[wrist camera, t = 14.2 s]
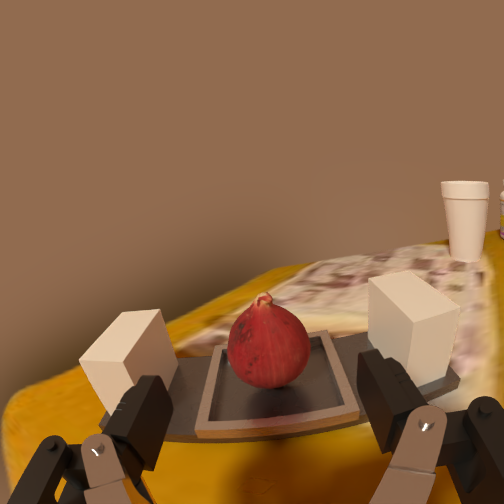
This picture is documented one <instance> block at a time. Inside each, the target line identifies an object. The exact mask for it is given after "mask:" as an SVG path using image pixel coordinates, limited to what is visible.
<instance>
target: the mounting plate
mask: <svg viewBox="0 0 504 504" xmlns="http://www.w3.org/2000/svg"><path fill="white" fill-rule="evenodd" d="M307 334H308V337H309V340H310V344H311V350H310V357H309V360H308V363H307V365H306V367H305V369H304V370H303V372H302V373H301V374H300V375H299V376H298V377H297V378H296V379H295V380H294V381H292V382H290V383H288V384H286V385H284V386H282V387H278V388H273V389H261V388H256V387H253V386H251V385H249V384H247V383H244V382H243V381H242V380H241V379H240V378H238V377H237V375H236V374H235V372H234V370H233V369H232V367H231V365H230V362H229V360H228V356H227V346H228V344H225V345H215V348H214V351H213V355H212V356H205V357H190V358H177V361H178V367H177V369H176V371H175V374H174V376H173V379H172V381H171V384H170V386H169V389H168V394H169V396H170V398H171V400H172V403H173V414H172V417H171V420H170V423H169V426H168V429H167V432H166V435H165V438H164V441H168V442H184V443H239V442H255V441H267V440H276V439H285V438H292V437H299V436H306V435H312V434H317V433H323V432H328V431H332V430H337V429H342V428H346V427H350V426H354V425H358V424H362V423H366V422H369V419H368V417H367V414H366V412H365V409H364V407H363V404H362V402H361V399H360V397H359V394H358V391H357V384H356V379H357V362H358V353H359V352H363V351H367V350H371V349H375V348H374V347H373V345H372V343H371V342H370V340H369V339H368V332H364V333H360V334H355V335H351V336H346V337H341V338H336V339H331V338H330V336H329V334H328V331H327V330H323V331H318V332H312V333H307ZM459 382H460V378H459V376H458V375H457V374H456V373H455V372H454V371H453V369H452V368H451V367H450V366H449V365H448V368H447V371H446V375H445V376H444V377H442V378H439V379H437V380H434V381H432V382H429V383H427V384H424V385H422V386H419V387H417V388H418V390H419V391H420V393H421V394H422V396H423V397H424V399H425V400H426V402H428V401H430V400H432V399H435V398H437V397H439V396H442V395H444V394H446V393H448V392H451V391H453V390H455V389H457V388H458V385H459ZM110 417H111V416H110V414H109V413H108V411H106V413H105V415H104V416H103V418H102V420H101V422H100V423H99V427H100V428H101V429H102V431H103V430H104V428H105V426H106V425H107V423H108V421H109V419H110Z"/></svg>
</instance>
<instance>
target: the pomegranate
mask: <svg viewBox="0 0 504 504" xmlns="http://www.w3.org/2000/svg"><path fill="white" fill-rule="evenodd" d="M310 350H311V344H310V340H309V337H308V334H307V332H306V330H305V328H304V326H303V324H302V323H301V321H300V320H299V319H298V318H297V317H296V316H295V315H293V314H292V313H291V312H289V311H288V310H286V309H284V308H282V307H280V306H277V305H274V304H273V303H272V296H271V295H270V294H269V293H268V292H266V293H260V294H259V295H258V296H257V297H256V299H255V300H254V302H253V303H252V305H251V306H250V307H249V308H248V309H247V310H245V311H244V312H243V313H242V314H241V315H240V316H239V317H238V318H237V320H236V321H235V323H234V324H233V326H232V328H231V331H230V335H229V341H228V346H227V356H228V360H229V362H230V365H231V367H232V369H233V370H234V372H235V374H236V375H237V377H238V378H240V379H241V380H242V381H243V382H244V383H247V384H249V385H251V386H253V387H256V388H261V389H273V388H278V387H282V386H284V385H286V384H288V383H290V382H292V381H294V380H295V379H296V378H297V377H298V376H299V375H300V374H301V373H302V372H303V370H304V369H305V367H306V365H307V363H308V360H309V357H310Z"/></svg>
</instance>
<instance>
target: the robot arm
mask: <svg viewBox="0 0 504 504" xmlns="http://www.w3.org/2000/svg"><path fill="white" fill-rule="evenodd" d="M356 384H357V391H358V394H359V397H360V399H361V402H362V404H363V407H364V409H365V412H366V414H367V417H368V419H369V422H370V424H371V427H372V429H373V432H374V434H375V437H376V439H377V442H378V444H379V447H380V450H381V452H382V454H384V453H387V452H390V451H391V452H392V455H393V457H392V460H391V462H390V464H389V466H388V468H387V470H386V472H385V474H384V476H383V478H382V480H381V482H380V484H379V486H378V488H377V490H376V491H375V493H374V495H373V497H372V499H371V500H370V502H369V504H426V502H427V500H428V497H429V495H430V492H431V489H432V486H433V484H434V481H435V477H436V473H434V470H435V467H438V466H444V465H446V466H447V468H448V470H449V473H450V475H451V478H452V480H453V483H454V485H455V488H456V490H457V493H458V496H459V498H460V501H461V504H504V409H503V408H502V406H501V405H500V404H499V402H498V401H497V400H495V399H494V398H492V397H488V396H482V397H478V398H476V399H474V400H473V401H472V402H471V403H470V405H469V407H468V409H467V410H462V411H456V412H450V413H445V412H444V411H443V410H442V409H440V408H438V407H436V406H432V405H428V403H427V402H426V400H425V399H424V397H423V396H422V394H421V393H420V391H419V390H418V388H417V387H416V385H415V384H414V382H413V381H412V380H411V378H410V376H409V375H408V373H406V370H405V369H404V367H403V366H402V365H401V363H400V362H398V361H396V360H395V359H393V358H392V357H389V358H386V359H384V358H383V356H382V354H381V353H380V351H379V350H378V349H377V348H375V349H371V350H367V351H363V352H359V353H358V362H357V379H356ZM119 402H120V403H118V405H117V407H116V410H114V412H113V414H112V416H111V417H110V419H109V421H108V423H107V425H106V426H105V428H104V430H103V432H102V433H101V434H94V435H91V436H90V437H88V438H87V439H86V440H85V441H84V442H83V443H82V444H73V445H68V444H67V443H66V442H65V441H64V440H63V438H62V437H60V436H57V435H53V436H49V437H47V438H45V439H44V440H43V441H42V442H41V444H40V445H39V447H38V448H37V450H36V452H35V453H34V455H33V457H32V459H31V460H30V462H29V464H28V466H27V467H26V469H25V471H24V473H23V474H22V476H21V478H20V480H19V482H18V484H17V485H16V487H15V489H14V491H13V493H12V495H11V497H10V499H9V501H8V503H7V504H157V503H156V501H155V499H154V498H153V496H152V494H151V492H150V490H149V488H148V486H147V484H146V482H145V480H144V478H143V477H142V476H141V474H142V471H143V470H147V471H154V468H155V465H156V462H157V459H158V456H159V453H160V450H161V447H162V444H163V441H164V438H165V435H166V432H167V429H168V426H169V423H170V420H171V417H172V414H173V403H172V400H171V398H170V396H169V394H168V391H167V389H166V387H165V385H164V382H163V380H162V378H161V377H160V376H159V375H142V376H141V377H140V378H139V380H138V382H137V384H136V386H132V387H131V388H130V389H129V390H127V391H126V392H125V393H124V394H123V396H122V398H121V400H120V401H119ZM62 477H63V478H64V479H65V480H66V481H67V482H66V485H65V487H64V489H63V491H62V494H61V496H60V498H59V501H58V502H57V501H56V500H55V496H54V494H55V491H56V489H57V486H58V484H59V482H60V480H61V478H62Z"/></svg>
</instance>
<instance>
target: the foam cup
mask: <svg viewBox="0 0 504 504" xmlns="http://www.w3.org/2000/svg"><path fill="white" fill-rule="evenodd" d="M441 190H442V197H443V200H444V206H445V212H446V219H447V226H448V235H449V245H450V253H451V257H452V258H453V259H454V260H457V261H461V262H475V261H478V260H480V259H481V254H482V249H483V243H484V236H485V228H486V219H487V210H488V198H489V183H487V182H478V181H446V182H441Z"/></svg>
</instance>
